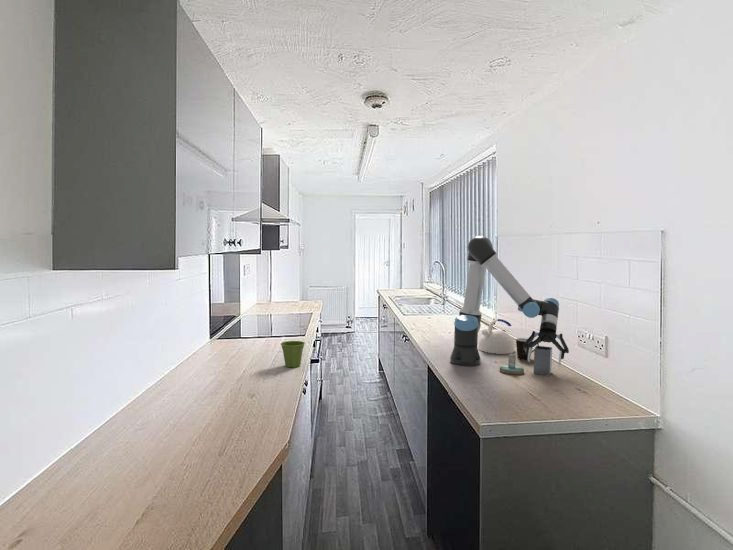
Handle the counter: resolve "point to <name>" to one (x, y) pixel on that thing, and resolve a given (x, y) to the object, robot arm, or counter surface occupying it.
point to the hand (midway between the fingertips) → (543, 362)
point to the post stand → (511, 367)
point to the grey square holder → (542, 360)
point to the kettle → (496, 340)
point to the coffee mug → (522, 348)
